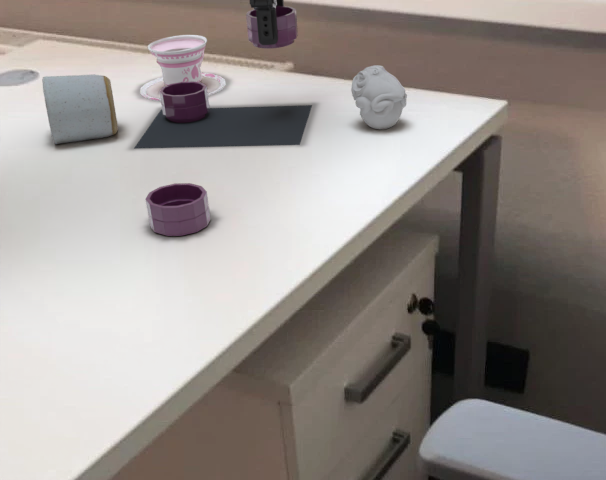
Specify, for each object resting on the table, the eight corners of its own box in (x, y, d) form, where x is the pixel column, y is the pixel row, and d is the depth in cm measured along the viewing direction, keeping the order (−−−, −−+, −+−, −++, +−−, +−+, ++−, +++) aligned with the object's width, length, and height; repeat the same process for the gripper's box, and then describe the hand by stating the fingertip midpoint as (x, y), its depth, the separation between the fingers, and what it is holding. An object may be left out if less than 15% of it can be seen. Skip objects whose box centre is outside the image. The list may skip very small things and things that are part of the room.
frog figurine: (373, 115, 110) (373, 56, 105) (418, 126, 106) (419, 65, 102) (341, 130, 107) (339, 69, 102) (386, 141, 103) (385, 79, 98)
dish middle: (145, 241, 86) (139, 207, 84) (160, 215, 91) (154, 183, 88) (203, 240, 85) (199, 207, 83) (215, 214, 90) (211, 182, 88)
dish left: (159, 124, 111) (155, 96, 109) (170, 109, 116) (165, 82, 113) (204, 123, 110) (200, 95, 108) (213, 108, 115) (210, 80, 113)
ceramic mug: (123, 143, 108) (110, 77, 103) (55, 153, 106) (39, 86, 102) (116, 117, 116) (104, 55, 111) (53, 126, 115) (38, 64, 110)
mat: (134, 151, 105) (133, 148, 105) (161, 112, 116) (161, 109, 116) (299, 148, 103) (299, 144, 103) (312, 108, 114) (312, 105, 113)
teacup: (185, 109, 116) (178, 59, 112) (122, 96, 122) (113, 49, 118) (244, 83, 123) (239, 36, 120) (181, 72, 129) (175, 27, 126)
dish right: (245, 50, 104) (242, 19, 102) (253, 37, 109) (250, 6, 107) (294, 48, 104) (292, 17, 101) (300, 35, 108) (298, 4, 106)
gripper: (236, -137, 101) (251, 22, 112) (212, -120, 90) (231, 54, 101) (301, -142, 100) (310, 19, 111) (284, -125, 89) (296, 52, 100)
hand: (272, 35), depth 106 cm, fingers closed on dish right, 6 cm apart
